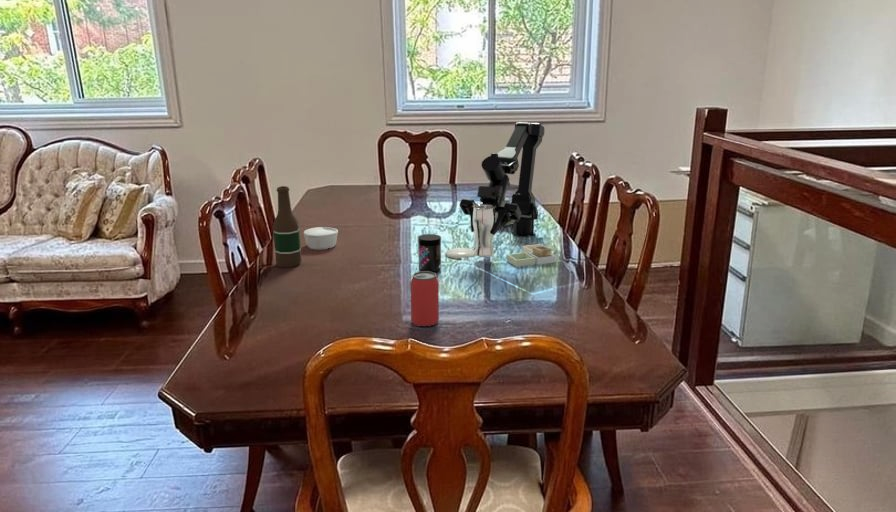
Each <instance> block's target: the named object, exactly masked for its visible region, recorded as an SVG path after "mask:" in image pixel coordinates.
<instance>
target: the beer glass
mask: <svg viewBox="0 0 896 512" xmlns="http://www.w3.org/2000/svg"><path fill="white" fill-rule="evenodd" d="M495 222H496V212H495V206H494V205H490V204H482V203H481V204H480V203H479V205H475V206H474V208H473V230H474V232H473V236H474V241H475V242H474V243H475V244H474V249H473V250H474V255H475V256H477V257H481V258H488V257H492V256H494V254H495V253H494V252H495V251H494V247H493V240H494V236H495V234H494V235H493V234H492V231H493V227H494V225H495Z"/></svg>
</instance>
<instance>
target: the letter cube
mask: <svg viewBox="0 0 896 512" xmlns="http://www.w3.org/2000/svg"><path fill="white" fill-rule="evenodd" d="M551 254H552V248H551V247H547V246H545V245H543V246H538V247H533V255H535V256H537V257H538V258H540V257H547V256H551Z"/></svg>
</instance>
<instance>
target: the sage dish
mask: <svg viewBox="0 0 896 512" xmlns="http://www.w3.org/2000/svg"><path fill="white" fill-rule="evenodd" d="M506 263H509V264H511V265H512V266H513V267H515V268H518V267H528V266H535V265H536V264H535V258H534V257H532V256H531V255H529V254H527V253H525V252H524V253H523V252H518V253H510V254H509V253H508V254H506Z"/></svg>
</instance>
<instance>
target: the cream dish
mask: <svg viewBox="0 0 896 512" xmlns="http://www.w3.org/2000/svg"><path fill="white" fill-rule="evenodd" d="M538 246H544V245H543V244H541V243H535V244H527V245H522V252H521V253H524V252H525V253H527V254H528V252H533V247H538Z"/></svg>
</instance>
